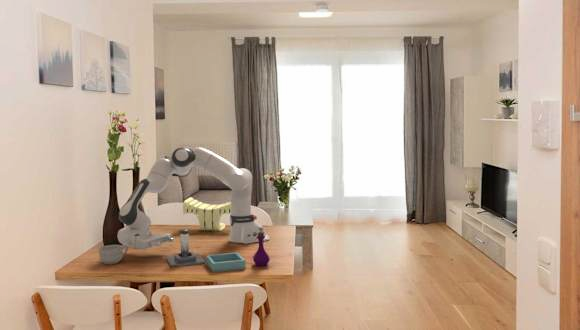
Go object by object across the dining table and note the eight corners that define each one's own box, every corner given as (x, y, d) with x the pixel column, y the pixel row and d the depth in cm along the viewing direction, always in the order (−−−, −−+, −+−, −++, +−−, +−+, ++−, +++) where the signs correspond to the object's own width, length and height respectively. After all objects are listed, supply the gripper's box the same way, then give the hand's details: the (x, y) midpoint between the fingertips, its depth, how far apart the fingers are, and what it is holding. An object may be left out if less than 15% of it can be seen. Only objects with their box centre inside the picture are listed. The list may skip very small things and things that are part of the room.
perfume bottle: (253, 263, 278) (252, 225, 276) (269, 262, 278) (268, 225, 277) (253, 267, 270) (252, 228, 268) (269, 267, 271) (269, 228, 269)
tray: (237, 260, 282) (237, 252, 282) (245, 268, 268) (245, 260, 268) (206, 263, 278) (206, 255, 277) (213, 272, 263) (212, 263, 263)
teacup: (101, 267, 274) (100, 250, 273) (97, 261, 283) (96, 245, 282) (131, 263, 280) (131, 246, 279) (126, 258, 290) (126, 241, 289)
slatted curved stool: (183, 231, 348) (183, 201, 347) (191, 225, 364) (190, 197, 362) (233, 232, 345) (233, 201, 343) (239, 226, 361) (238, 197, 359)
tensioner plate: (198, 255, 293) (198, 249, 293) (205, 263, 278) (204, 257, 278) (166, 258, 288) (165, 252, 287) (170, 267, 273) (170, 260, 272)
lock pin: (189, 257, 285) (188, 228, 284) (190, 259, 281) (189, 230, 280) (179, 258, 284) (179, 229, 283) (181, 260, 280) (180, 231, 278)
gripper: (159, 241, 303) (180, 243, 297) (130, 249, 286) (152, 253, 279) (158, 229, 303) (179, 231, 296) (129, 237, 285) (151, 240, 278)
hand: (166, 242), depth 287 cm, fingers open, 8 cm apart
